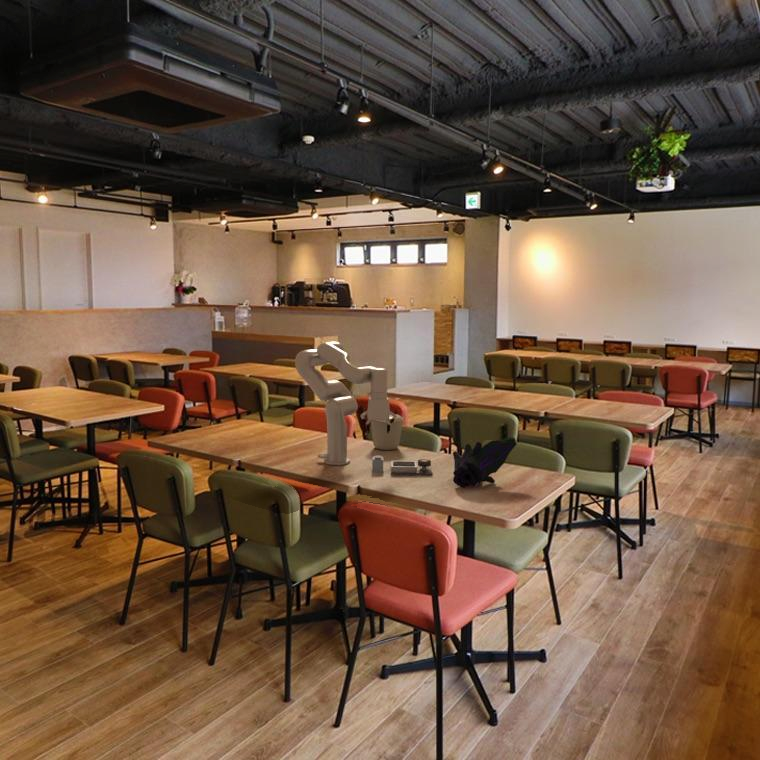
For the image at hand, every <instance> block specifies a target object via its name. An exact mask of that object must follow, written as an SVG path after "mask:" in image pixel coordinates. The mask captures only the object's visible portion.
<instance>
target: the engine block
mask: <svg viewBox="0 0 760 760" xmlns="http://www.w3.org/2000/svg"><path fill="white" fill-rule="evenodd" d="M371 466H372V468H371V472H372V473H375V474H376V473H377V474H379V473H381V474H382V473H384V456H382V455H374V456H372V464H371Z"/></svg>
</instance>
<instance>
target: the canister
mask: <svg viewBox="0 0 760 760" xmlns="http://www.w3.org/2000/svg"><path fill="white" fill-rule="evenodd" d="M394 414H395V413H394ZM395 415H397V417H396V419H395V420H394V421H393V422H392V423H391V425H390V431H389V433H387V424H388V423H387V422H386V420H371V421H370V423H371V424H370V426H371V427H370V428H371V436H372V443H373V446H374V448H375V449H377V450H379V449H380V450H381V451H393V450H394V451H395V450H397V449H398V447H399V446H400V443H401V442H400V441H401V435H402V428H403V427H402V426H403V421H404V420H405V419H404V417H402V415H399V414H397V413H396V414H395ZM392 418H393V416H392V415H390V418H389V420H391V419H392Z"/></svg>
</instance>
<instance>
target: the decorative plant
mask: <svg viewBox="0 0 760 760" xmlns="http://www.w3.org/2000/svg"><path fill="white" fill-rule="evenodd" d="M516 445H518V444H517V440H516V438H515V437H513V436H512V437H508V438H504V439H497V440H494V439H492V440H490V441H489V442H487V443H486V444H484V446H483V445H482V442H480V441H479V442H478V441H476V443H475V445H474V446H473V448H472V446H471V445H470V443H467V444H465V447H464V450H463V453H462V454H461V455H460V453H459V452H458V451H456V450H454V451H453V452H452V456H453V458H454V459H453V460H454V471H453V473H452V474H453V478H452V480H453V483H454V484H455V485H456V486H458V487H459V488H468V487H470V486H471V487H473V488H474V487H476V486H477V485H478V484H479V485H480V484H481V483H483V482H486V483H490V484H495V482H496V481H495V479H494V477H492V476H490V475H492V474H496V473H497V472H498V470H500V468H501V467H502V466H504V464H505V462H506V460H507V459H508V457H509V455H510V453H511V452H512V450H514V449H515V447H516Z"/></svg>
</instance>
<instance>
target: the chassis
mask: <svg viewBox="0 0 760 760" xmlns="http://www.w3.org/2000/svg"><path fill="white" fill-rule="evenodd" d="M419 475H420V476H421V475H422V477H423V476H425V475H426V476H427V477H428V476H429V477H431V476H432V477H433V476H434V474H433V469H432V465H431V466H428V467H422V466H418V464H417V461H415V460H391V461H390V476H419ZM426 476H425V477H426Z"/></svg>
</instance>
